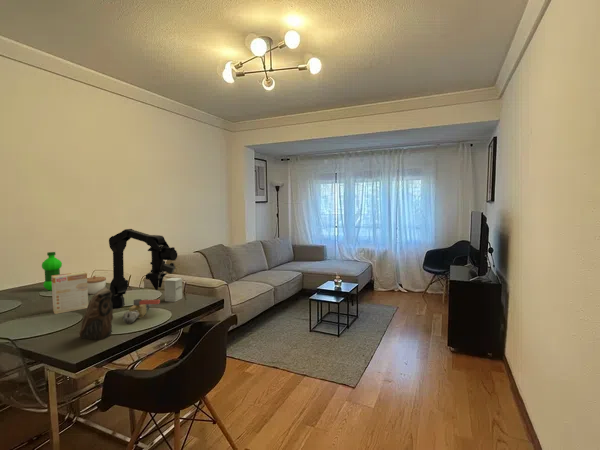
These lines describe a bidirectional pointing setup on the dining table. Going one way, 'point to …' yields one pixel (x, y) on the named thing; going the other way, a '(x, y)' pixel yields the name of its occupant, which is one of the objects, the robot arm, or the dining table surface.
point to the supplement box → (173, 289)
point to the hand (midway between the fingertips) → (158, 288)
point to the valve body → (135, 312)
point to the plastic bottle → (51, 269)
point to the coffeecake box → (69, 292)
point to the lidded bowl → (95, 284)
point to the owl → (98, 316)
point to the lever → (145, 302)
